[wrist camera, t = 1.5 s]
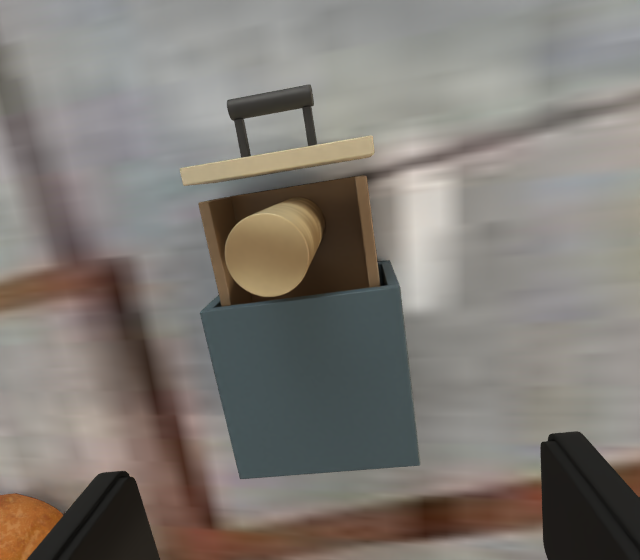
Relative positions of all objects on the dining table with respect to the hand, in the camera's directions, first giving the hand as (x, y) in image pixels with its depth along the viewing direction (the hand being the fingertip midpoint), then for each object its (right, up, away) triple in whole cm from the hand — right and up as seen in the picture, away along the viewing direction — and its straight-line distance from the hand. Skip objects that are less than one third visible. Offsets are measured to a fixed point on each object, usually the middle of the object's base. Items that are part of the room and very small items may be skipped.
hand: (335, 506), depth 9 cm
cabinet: (0, -1, +30) cm, 30 cm away
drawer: (-2, +11, +26) cm, 28 cm away
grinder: (-2, +10, +25) cm, 27 cm away
